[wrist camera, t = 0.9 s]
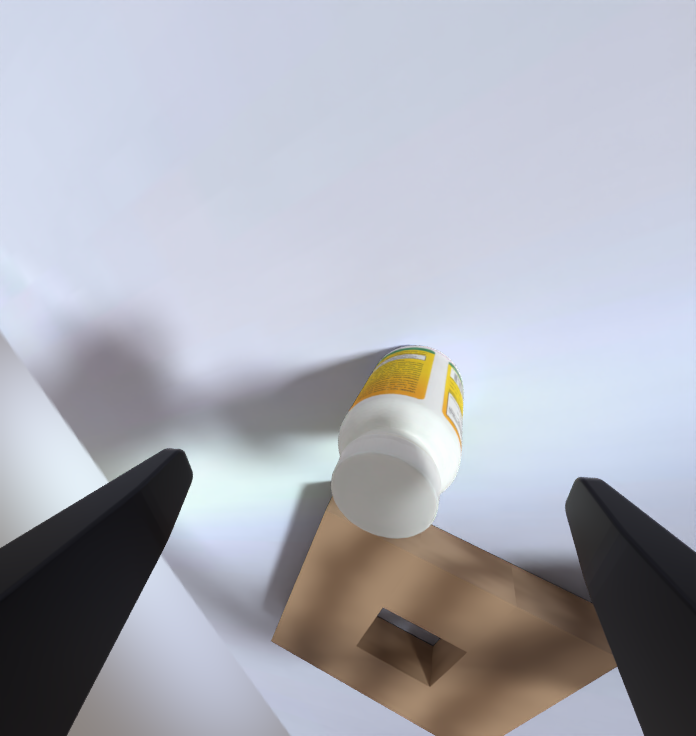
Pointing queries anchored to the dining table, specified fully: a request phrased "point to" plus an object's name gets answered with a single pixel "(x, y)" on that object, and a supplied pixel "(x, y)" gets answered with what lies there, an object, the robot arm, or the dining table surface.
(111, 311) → the dining table surface
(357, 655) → the socket block
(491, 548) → the dining table surface
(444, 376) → the supplement bottle
